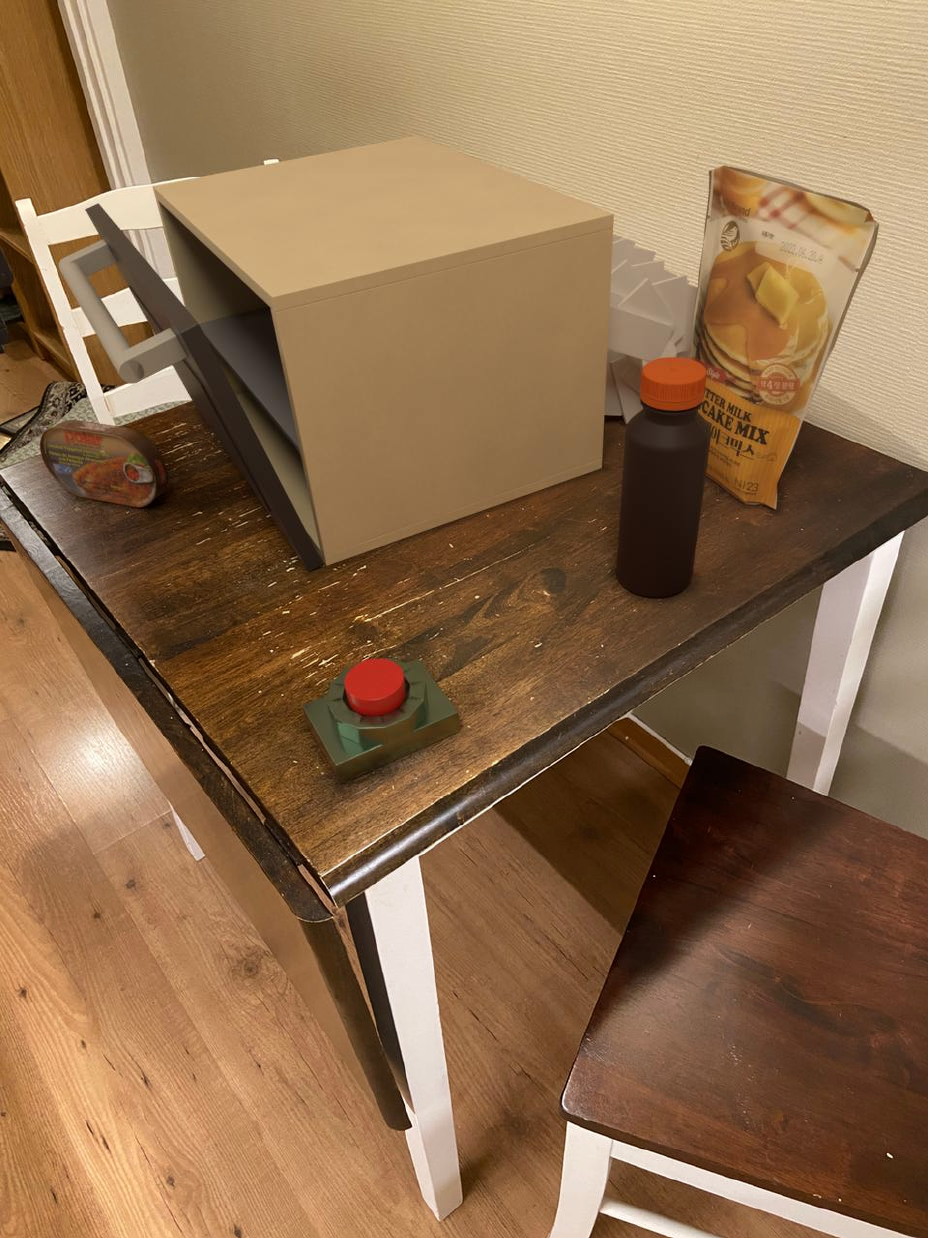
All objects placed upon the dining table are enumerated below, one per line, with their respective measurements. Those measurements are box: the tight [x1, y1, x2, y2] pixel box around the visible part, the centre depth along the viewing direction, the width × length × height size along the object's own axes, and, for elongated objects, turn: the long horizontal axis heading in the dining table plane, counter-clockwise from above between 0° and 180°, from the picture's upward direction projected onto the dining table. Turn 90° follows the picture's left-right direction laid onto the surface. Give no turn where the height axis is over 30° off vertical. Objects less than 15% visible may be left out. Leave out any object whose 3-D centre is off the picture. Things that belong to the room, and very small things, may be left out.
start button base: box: [301, 657, 461, 785], centre depth 67 cm, size 10×7×4 cm
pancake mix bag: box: [691, 165, 880, 510], centre depth 84 cm, size 7×19×28 cm, turn 24°
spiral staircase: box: [604, 233, 698, 425], centre depth 103 cm, size 18×18×25 cm
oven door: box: [58, 203, 324, 573], centre depth 88 cm, size 7×40×26 cm, turn 28°
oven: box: [152, 135, 615, 567], centre depth 95 cm, size 32×40×26 cm
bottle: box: [615, 357, 711, 598], centre depth 74 cm, size 7×7×20 cm
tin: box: [39, 419, 169, 508], centre depth 94 cm, size 15×3×8 cm, turn 68°
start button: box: [344, 658, 406, 716], centre depth 65 cm, size 4×4×2 cm
